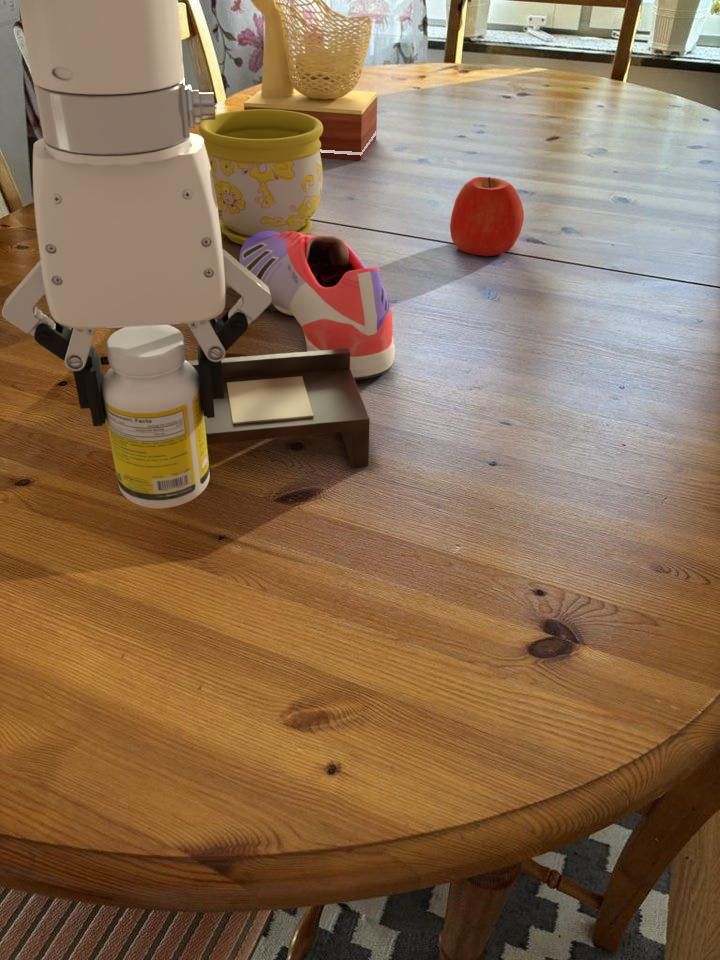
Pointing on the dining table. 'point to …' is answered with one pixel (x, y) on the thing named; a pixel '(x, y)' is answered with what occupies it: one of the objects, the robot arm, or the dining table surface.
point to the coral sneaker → (326, 295)
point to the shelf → (290, 400)
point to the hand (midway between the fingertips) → (154, 408)
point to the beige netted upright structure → (318, 75)
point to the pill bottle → (155, 417)
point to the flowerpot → (264, 170)
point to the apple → (486, 217)
